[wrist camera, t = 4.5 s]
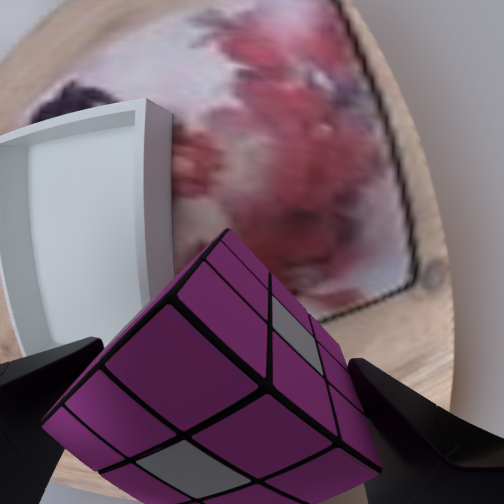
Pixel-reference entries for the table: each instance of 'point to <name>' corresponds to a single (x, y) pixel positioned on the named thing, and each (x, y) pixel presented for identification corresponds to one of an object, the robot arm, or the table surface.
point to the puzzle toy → (220, 395)
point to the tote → (85, 222)
